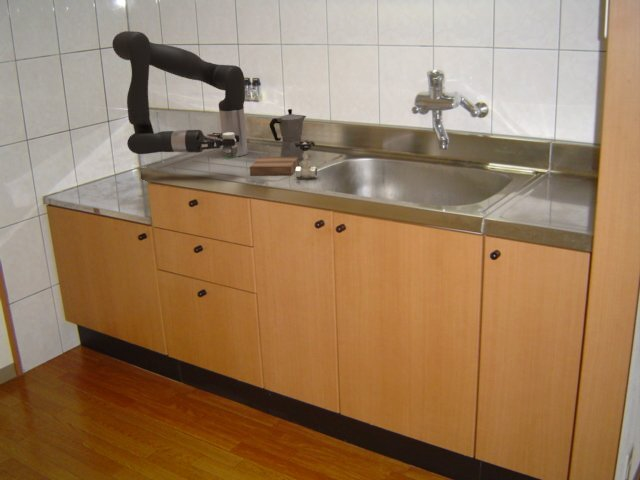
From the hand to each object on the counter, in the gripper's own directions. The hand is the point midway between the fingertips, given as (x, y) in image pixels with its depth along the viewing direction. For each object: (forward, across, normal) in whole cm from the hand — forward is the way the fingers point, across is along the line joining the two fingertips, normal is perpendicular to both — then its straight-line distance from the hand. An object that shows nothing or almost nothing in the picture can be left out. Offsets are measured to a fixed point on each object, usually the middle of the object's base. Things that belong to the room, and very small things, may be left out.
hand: (236, 140), depth 242 cm
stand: (+10, +8, +13) cm, 18 cm away
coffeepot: (+12, +26, +13) cm, 31 cm away
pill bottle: (-3, 0, +6) cm, 7 cm away
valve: (+23, -2, +13) cm, 27 cm away
